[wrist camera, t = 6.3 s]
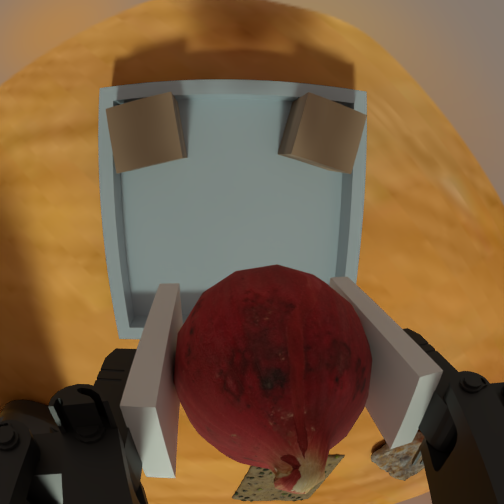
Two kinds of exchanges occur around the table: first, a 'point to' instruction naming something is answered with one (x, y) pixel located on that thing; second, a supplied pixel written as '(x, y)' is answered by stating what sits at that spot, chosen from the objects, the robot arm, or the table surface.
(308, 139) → the walnut cube
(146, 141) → the walnut cube
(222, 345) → the onion
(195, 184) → the dish
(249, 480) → the speckled stone tile
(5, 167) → the table surface
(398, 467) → the rock
